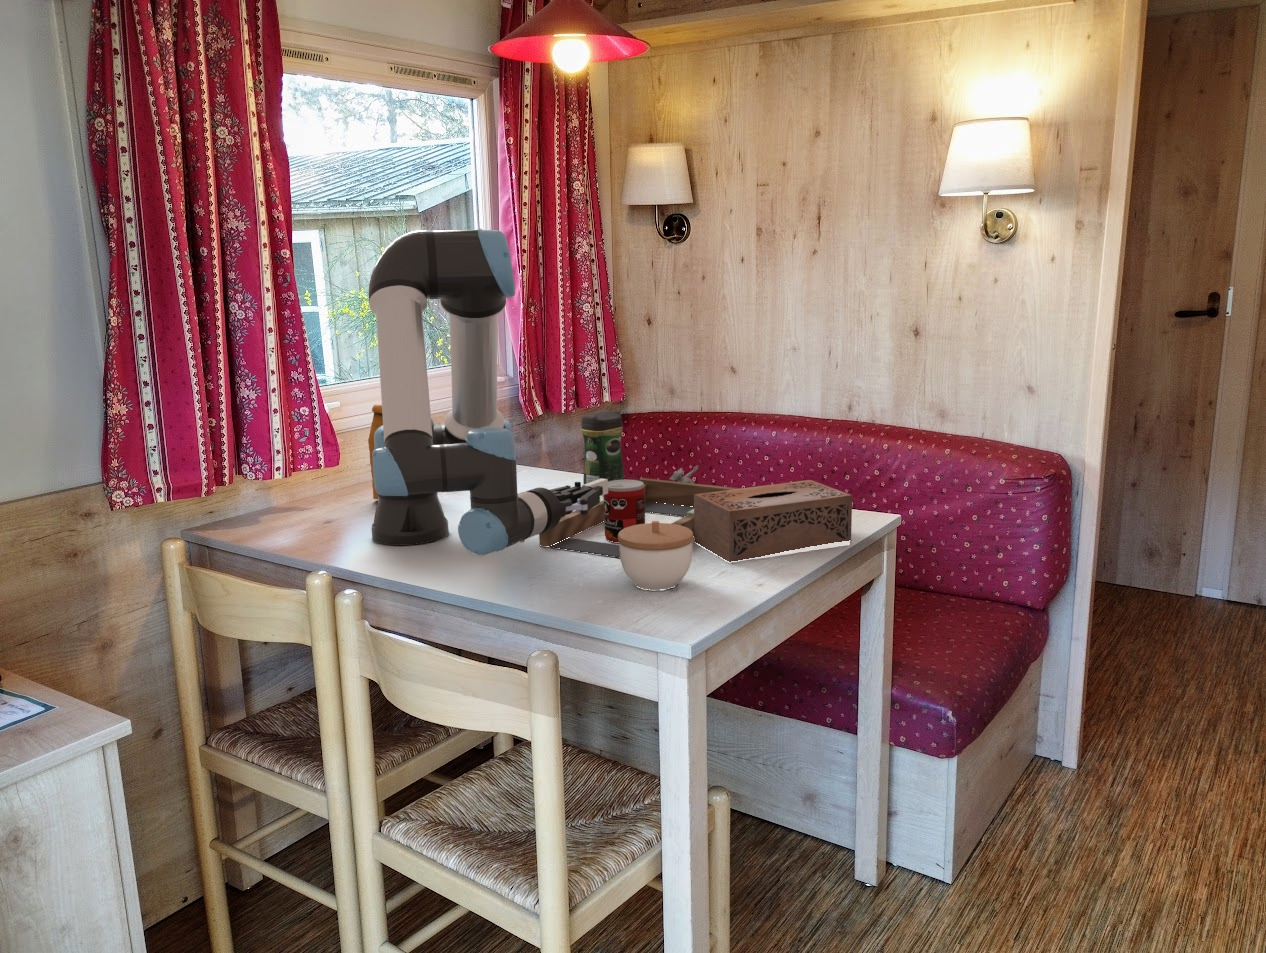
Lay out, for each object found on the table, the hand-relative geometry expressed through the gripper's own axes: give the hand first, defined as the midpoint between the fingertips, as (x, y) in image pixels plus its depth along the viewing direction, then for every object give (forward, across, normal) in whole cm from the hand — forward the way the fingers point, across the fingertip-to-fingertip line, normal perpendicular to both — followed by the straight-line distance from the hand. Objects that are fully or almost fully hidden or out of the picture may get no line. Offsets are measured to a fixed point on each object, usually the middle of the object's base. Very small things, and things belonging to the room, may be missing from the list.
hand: (604, 485), depth 195 cm
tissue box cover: (+17, +27, -13) cm, 34 cm away
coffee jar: (+41, -26, -12) cm, 50 cm away
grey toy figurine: (+45, -5, -12) cm, 47 cm away
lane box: (+16, -1, -12) cm, 20 cm away
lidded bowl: (-14, +18, -13) cm, 26 cm away
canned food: (+8, -1, -12) cm, 15 cm away
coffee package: (+13, -63, -12) cm, 65 cm away
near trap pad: (-1, -1, -12) cm, 12 cm away
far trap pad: (+31, -1, -12) cm, 33 cm away
